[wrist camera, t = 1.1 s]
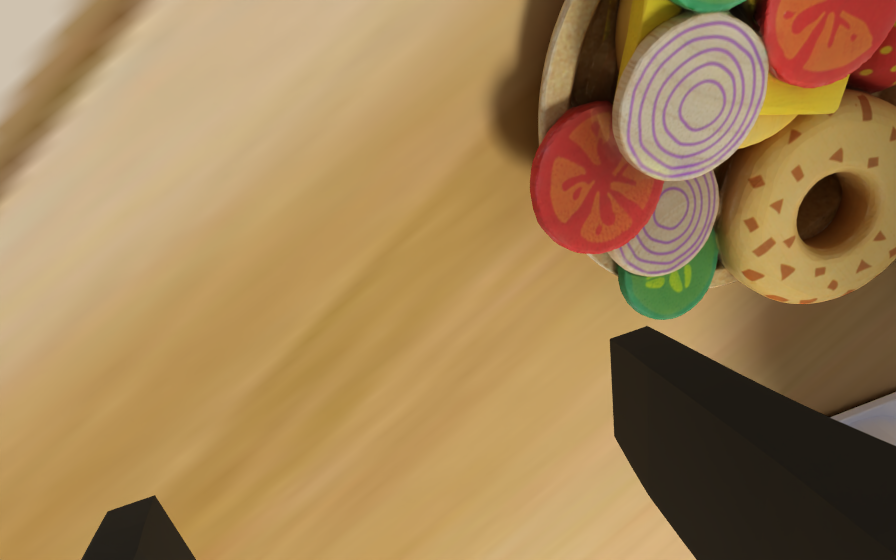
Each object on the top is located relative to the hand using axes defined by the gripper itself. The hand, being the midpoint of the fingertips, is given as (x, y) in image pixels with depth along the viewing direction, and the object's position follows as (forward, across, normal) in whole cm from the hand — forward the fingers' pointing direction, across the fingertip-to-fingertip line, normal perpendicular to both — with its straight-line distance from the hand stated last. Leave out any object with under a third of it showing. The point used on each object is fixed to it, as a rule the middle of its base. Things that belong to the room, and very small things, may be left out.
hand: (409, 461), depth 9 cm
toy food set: (+10, -12, 0) cm, 16 cm away
